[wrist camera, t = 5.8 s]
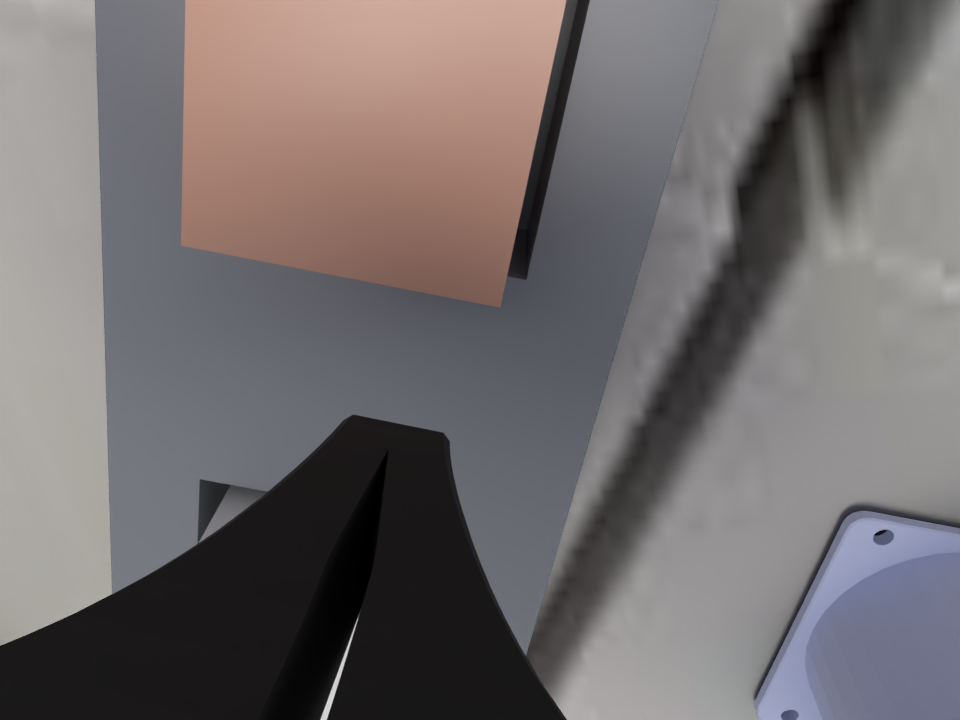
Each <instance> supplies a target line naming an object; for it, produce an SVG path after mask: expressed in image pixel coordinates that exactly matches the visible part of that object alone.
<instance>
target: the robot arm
mask: <svg viewBox="0 0 960 720" xmlns="http://www.w3.org/2000/svg"><path fill="white" fill-rule="evenodd" d="M880 530H887V531H886V532H885V533H884V534H882V535H879V536H874V535H875V534H876V533H877V532H878V531H880ZM360 610H361V611H360ZM359 613H360V614H359ZM358 616H359V617H358ZM357 619H358V621H357ZM356 621H357V624H356ZM355 624H356V627H355ZM354 627H355V631H354V634H353V637H352V641H351V644H350V647H349V650H348V654H347V657H346V660H345V664H344V667H343V670H342V674H341V677H340V680H339V683H338V686H337V689H336V693H335V696H334V699H333V702H332V705H331V708H330V711H329V715H328V718H327V720H567V719H566V718H565V716H564V715H563V713H562V712H561V711H560V709H559V708H558V706H557V705H556V703H555V702H554V700H553V699H552V697H551V696H550V695H549V693H548V692H547V690H546V689H545V687H544V686H543V684H542V683H541V681H540V679H539V678H538V676H537V674H536V672H535V671H534V669H533V667H532V666H531V664H530V662H529V661H528V659H527V657H526V655H525V654H524V652H523V650H522V649H521V647H520V645H519V643H518V641H517V639H516V637H515V636H514V634H513V632H512V630H511V628H510V626H509V624H508V622H507V621H506V619H505V617H504V614H503V612H502V610H501V608H500V606H499V604H498V602H497V600H496V598H495V595H494V593H493V591H492V589H491V587H490V584H489V582H488V579H487V577H486V575H485V572H484V570H483V567H482V565H481V563H480V560H479V558H478V555H477V552H476V549H475V547H474V544H473V541H472V538H471V535H470V532H469V529H468V526H467V523H466V520H465V517H464V514H463V511H462V507H461V504H460V500H459V497H458V493H457V488H456V484H455V480H454V475H453V470H452V464H451V456H450V441H449V440H448V438H447V437H446V435H445V434H444V433H443V432H438V431H433V430H428V429H423V428H418V427H413V426H408V425H403V424H398V423H393V422H388V421H383V420H378V419H373V418H369V417H364V416H359V415H354V414H353V415H351V416H349V417H348V418H346V419H344V420H343V421H342V422H341V423H340V425H339V426H338V427H337V428H336V429H335V430H334V431H333V432H332V433H331V434H330V435H329V436H328V437H327V438H326V439H325V440H324V441H323V442H322V443H321V444H320V445H319V446H318V447H317V448H316V449H315V450H314V451H313V452H312V453H311V454H310V455H309V456H308V457H307V458H306V459H305V460H304V461H303V462H302V463H300V464H299V465H298V466H297V467H296V468H295V469H294V470H292V471H291V472H290V473H289V474H288V475H287V476H286V477H284V478H283V479H282V480H281V481H280V482H279V483H277V484H276V485H275V486H274V487H273V488H272V489H271V490H269V491H268V492H267V493H266V494H264V495H263V496H262V497H261V498H260V499H258V500H257V501H256V502H254V503H253V504H252V505H250V506H249V507H248V508H246V509H245V510H244V511H242V512H241V513H240V514H238V515H237V516H236V517H234V518H233V519H232V520H230V521H229V522H228V523H226V524H225V525H224V526H222V527H221V528H220V529H218V530H217V531H216V532H214V533H213V534H211V535H210V536H208V537H207V538H205V539H204V540H202V541H201V542H200V543H198V544H197V545H195V546H194V547H192V548H190V549H189V550H187V551H186V552H184V553H183V554H181V555H180V556H178V557H176V558H175V559H173V560H171V561H170V562H168V563H167V564H165V565H163V566H162V567H160V568H158V569H157V570H155V571H153V572H152V573H150V574H148V575H147V576H145V577H143V578H141V579H139V580H137V581H136V582H134V583H132V584H130V585H128V586H126V587H125V588H123V589H121V590H119V591H117V592H116V593H114V594H112V595H110V596H108V597H106V598H104V599H102V600H100V601H98V602H96V603H94V604H92V605H90V606H88V607H87V608H85V609H83V610H81V611H79V612H77V613H75V614H73V615H70V616H68V617H66V618H64V619H62V620H60V621H57V622H55V623H53V624H51V625H48V626H46V627H44V628H42V629H39V630H37V631H35V632H32V633H30V634H28V635H26V636H23V637H21V638H18V639H16V640H14V641H11V642H9V643H6V644H4V645H1V646H0V720H321V717H322V714H323V711H324V709H325V706H326V703H327V701H328V698H329V695H330V692H331V690H332V687H333V684H334V681H335V679H336V676H337V673H338V671H339V668H340V665H341V662H342V660H343V657H344V654H345V651H346V649H347V646H348V643H349V641H350V638H351V635H352V632H353V630H354ZM754 706H755V710H756V713H757V716H758V718H760V719H761V720H960V528H955V527H950V526H945V525H940V524H934V523H929V522H924V521H918V520H913V519H908V518H903V517H897V516H892V515H887V514H881V513H876V512H871V511H858V512H854V513H852V514H851V515H849V516H847V517H846V519H845V520H844V521H843V522H842V524H841V527H840V529H839V531H838V533H837V535H836V537H835V539H834V541H833V543H832V545H831V547H830V549H829V551H828V553H827V555H826V557H825V559H824V561H823V563H822V565H821V567H820V569H819V571H818V573H817V575H816V577H815V579H814V582H813V584H812V586H811V588H810V590H809V592H808V594H807V596H806V598H805V600H804V602H803V604H802V606H801V608H800V610H799V612H798V614H797V616H796V618H795V620H794V622H793V624H792V626H791V628H790V630H789V632H788V634H787V636H786V639H785V641H784V643H783V645H782V647H781V649H780V651H779V653H778V655H777V657H776V659H775V661H774V663H773V665H772V667H771V669H770V671H769V673H768V675H767V677H766V679H765V681H764V683H763V685H762V687H761V689H760V691H759V694H758V696H757V698H756V700H755V703H754ZM786 710H789V711H786Z"/></svg>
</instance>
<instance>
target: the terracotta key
mask: <svg viewBox="0 0 960 720" xmlns="http://www.w3.org/2000/svg"><path fill="white" fill-rule="evenodd" d="M565 5H566V0H185V50H184V105H183V161H182V217H181V246H186V247H191V248H196V249H201V250H206V251H211V252H216V253H222V254H227V255H232V256H237V257H242V258H247V259H252V260H258V261H263V262H268V263H273V264H278V265H283V266H289V267H294V268H299V269H304V270H309V271H314V272H319V273H325V274H330V275H335V276H340V277H345V278H350V279H355V280H361V281H366V282H371V283H376V284H381V285H386V286H391V287H397V288H402V289H407V290H412V291H417V292H422V293H428V294H433V295H438V296H443V297H448V298H453V299H458V300H464V301H469V302H474V303H479V304H484V305H489V306H494V307H501V302H502V298H503V293H504V288H505V284H506V279H507V274H508V270H509V265H510V260H511V256H512V251H513V246H514V242H515V237H516V233H517V228H518V223H519V219H520V214H521V209H522V205H523V200H524V195H525V191H526V186H527V181H528V177H529V172H530V168H531V163H532V158H533V154H534V149H535V144H536V140H537V135H538V130H539V126H540V121H541V116H542V112H543V107H544V103H545V98H546V93H547V89H548V84H549V79H550V75H551V70H552V65H553V61H554V56H555V51H556V47H557V42H558V37H559V33H560V28H561V24H562V19H563V14H564V10H565Z"/></svg>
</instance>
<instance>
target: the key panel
mask: <svg viewBox="0 0 960 720" xmlns="http://www.w3.org/2000/svg"><path fill="white" fill-rule="evenodd" d="M718 1H719V0H566V5H565V10H564V14H563V19H562V24H561V28H560V33H559V37H558V42H557V47H556V51H555V56H554V61H553V65H552V70H551V75H550V79H549V84H548V89H547V93H546V98H545V103H544V107H543V112H542V116H541V121H540V126H539V130H538V135H537V140H536V144H535V149H534V154H533V158H532V163H531V168H530V172H529V177H528V181H527V186H526V191H525V195H524V200H523V205H522V209H521V214H520V219H519V223H518V228H517V233H516V237H515V242H514V246H513V251H512V256H511V260H510V265H509V270H508V274H507V279H506V284H505V288H504V293H503V298H502V302H501V307H494V306H489V305H484V304H479V303H474V302H469V301H464V300H458V299H453V298H448V297H443V296H438V295H433V294H428V293H422V292H417V291H412V290H407V289H402V288H397V287H391V286H386V285H381V284H376V283H371V282H366V281H361V280H355V279H350V278H345V277H340V276H335V275H330V274H325V273H319V272H314V271H309V270H304V269H299V268H294V267H289V266H283V265H278V264H273V263H268V262H263V261H258V260H252V259H247V258H242V257H237V256H232V255H227V254H222V253H216V252H211V251H206V250H201V249H196V248H191V247H186V246H181V217H182V161H183V105H184V50H185V0H95V18H96V53H97V88H98V122H99V157H100V191H101V226H102V261H103V295H104V330H105V365H106V399H107V434H108V469H109V503H110V538H111V572H112V594H114V593H116V592H117V591H119V590H121V589H123V588H125V587H126V586H128V585H130V584H132V583H134V582H136V581H137V580H139V579H141V578H143V577H145V576H147V575H148V574H150V573H152V572H153V571H155V570H157V569H158V568H160V567H162V566H163V565H165V564H167V563H168V562H170V561H171V560H173V559H175V558H176V557H178V556H180V555H181V554H183V553H184V552H186V551H187V550H189V549H190V548H192V547H194V546H195V545H197V544H198V543H199V541H200V539H201V538H202V536H203V534H204V532H205V530H206V529H207V527H208V525H209V523H210V521H211V520H212V518H213V516H214V514H215V512H216V511H217V509H218V507H219V505H220V503H221V502H222V500H223V498H224V496H225V494H226V492H227V491H228V489H229V487H230V485H234V486H239V487H245V488H250V489H256V490H261V491H266V492H268V491H269V490H271V489H272V488H273V487H274V486H275V485H276V484H277V483H279V482H280V481H281V480H282V479H283V478H284V477H286V476H287V475H288V474H289V473H290V472H291V471H292V470H294V469H295V468H296V467H297V466H298V465H299V464H300V463H302V462H303V461H304V460H305V459H306V458H307V457H308V456H309V455H310V454H311V453H312V452H313V451H314V450H315V449H316V448H317V447H318V446H319V445H320V444H321V443H322V442H323V441H324V440H325V439H326V438H327V437H328V436H329V435H330V434H331V433H332V432H333V431H334V430H335V429H336V428H337V427H338V426H339V425H340V423H341V422H342V421H343V420H344V419H346V418H348V417H349V416H351V415H353V414H354V415H359V416H364V417H369V418H373V419H378V420H383V421H388V422H393V423H398V424H403V425H408V426H413V427H418V428H423V429H428V430H433V431H438V432H443V433H444V434H445V435H446V437H447V438H448V440H449V441H450V456H451V464H452V470H453V475H454V480H455V484H456V488H457V493H458V497H459V500H460V504H461V507H462V511H463V514H464V517H465V520H466V523H467V526H468V529H469V532H470V535H471V538H472V541H473V544H474V547H475V549H476V552H477V555H478V558H479V560H480V563H481V565H482V567H483V570H484V572H485V575H486V577H487V579H488V582H489V584H490V587H491V589H492V591H493V593H494V595H495V598H496V600H497V602H498V604H499V606H500V608H501V610H502V612H503V614H504V617H505V619H506V621H507V622H508V624H509V626H510V628H511V630H512V632H513V634H514V636H515V637H516V639H517V641H518V643H519V645H520V647H521V649H522V650H523V652H524V654H525V655H526V654H527V651H528V647H529V644H530V640H531V637H532V634H533V630H534V627H535V623H536V620H537V617H538V613H539V610H540V606H541V603H542V600H543V596H544V593H545V589H546V586H547V583H548V579H549V576H550V572H551V569H552V566H553V562H554V559H555V555H556V552H557V549H558V545H559V542H560V538H561V535H562V532H563V528H564V525H565V521H566V518H567V515H568V511H569V508H570V504H571V501H572V498H573V494H574V491H575V487H576V484H577V481H578V477H579V474H580V471H581V467H582V464H583V460H584V457H585V454H586V450H587V447H588V443H589V440H590V437H591V433H592V430H593V426H594V423H595V420H596V416H597V413H598V409H599V406H600V403H601V399H602V396H603V392H604V389H605V386H606V382H607V379H608V375H609V372H610V369H611V365H612V362H613V358H614V355H615V352H616V348H617V345H618V341H619V338H620V335H621V331H622V328H623V324H624V321H625V318H626V314H627V311H628V307H629V304H630V301H631V297H632V294H633V290H634V287H635V284H636V280H637V277H638V273H639V270H640V267H641V263H642V260H643V256H644V253H645V250H646V246H647V243H648V239H649V236H650V233H651V229H652V226H653V222H654V219H655V216H656V212H657V209H658V205H659V202H660V199H661V195H662V192H663V188H664V185H665V182H666V178H667V175H668V171H669V168H670V165H671V161H672V158H673V154H674V151H675V148H676V144H677V141H678V137H679V134H680V131H681V127H682V124H683V120H684V117H685V114H686V110H687V107H688V103H689V100H690V97H691V93H692V90H693V86H694V83H695V80H696V76H697V73H698V69H699V66H700V63H701V59H702V56H703V52H704V49H705V46H706V42H707V39H708V35H709V32H710V29H711V25H712V22H713V18H714V15H715V12H716V8H717V5H718Z"/></svg>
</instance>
